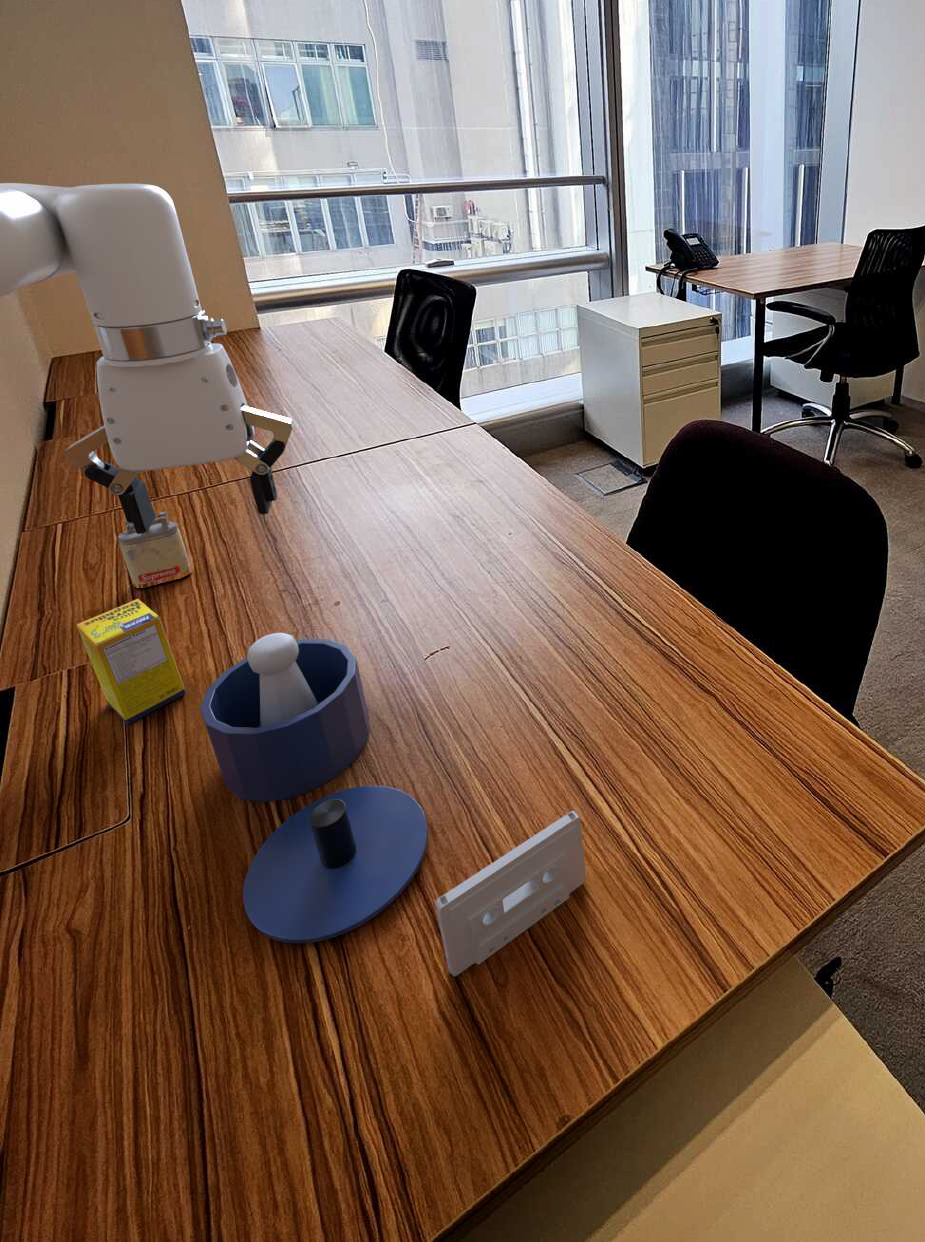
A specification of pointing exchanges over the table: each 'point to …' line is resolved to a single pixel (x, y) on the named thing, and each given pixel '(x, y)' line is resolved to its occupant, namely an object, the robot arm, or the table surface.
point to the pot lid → (335, 864)
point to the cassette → (511, 894)
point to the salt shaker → (279, 679)
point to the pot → (288, 726)
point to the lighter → (154, 551)
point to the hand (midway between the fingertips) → (207, 517)
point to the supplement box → (132, 660)
